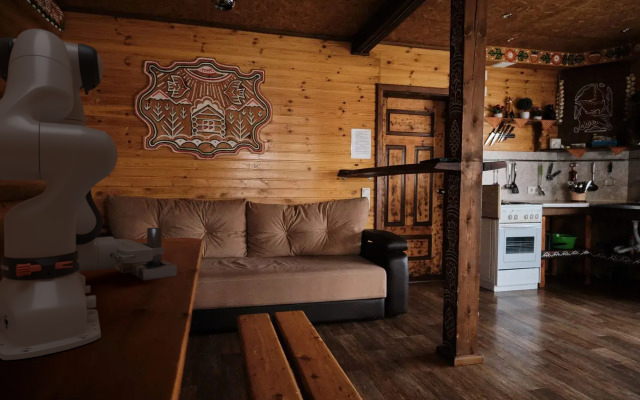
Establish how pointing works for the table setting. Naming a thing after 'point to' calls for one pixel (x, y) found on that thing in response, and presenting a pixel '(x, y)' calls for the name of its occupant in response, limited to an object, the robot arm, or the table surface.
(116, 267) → the rack
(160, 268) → the socket
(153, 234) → the dark rounded handle
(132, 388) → the table surface
